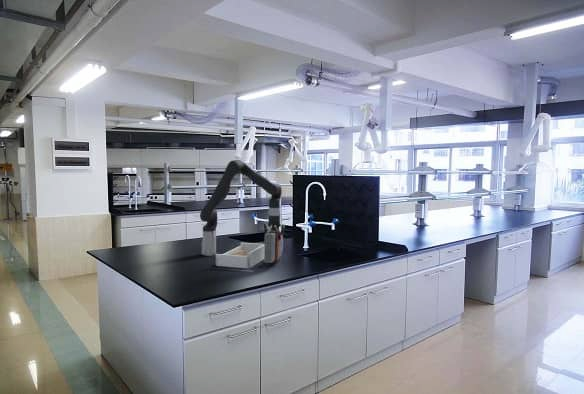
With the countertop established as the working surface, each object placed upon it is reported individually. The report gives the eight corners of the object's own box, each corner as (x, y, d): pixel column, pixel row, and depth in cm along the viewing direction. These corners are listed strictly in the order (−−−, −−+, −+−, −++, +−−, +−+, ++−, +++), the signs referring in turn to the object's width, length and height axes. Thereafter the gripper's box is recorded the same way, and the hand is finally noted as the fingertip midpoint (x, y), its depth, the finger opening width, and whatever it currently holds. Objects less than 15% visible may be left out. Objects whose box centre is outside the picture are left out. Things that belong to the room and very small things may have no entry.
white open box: (215, 267, 230) (215, 251, 229) (241, 253, 268) (241, 239, 268) (249, 269, 224) (249, 253, 223) (270, 255, 262) (270, 241, 262)
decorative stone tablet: (273, 233, 225) (284, 229, 254) (263, 232, 226) (275, 229, 255) (272, 264, 224) (283, 258, 254) (262, 264, 226) (274, 257, 255)
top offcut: (229, 257, 242) (229, 254, 242) (242, 253, 256) (242, 250, 256) (237, 258, 240) (237, 255, 240) (249, 253, 253) (249, 251, 253)
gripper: (261, 214, 237) (261, 240, 238) (283, 215, 233) (283, 241, 234) (265, 213, 244) (265, 238, 245) (286, 214, 240) (286, 239, 241)
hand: (274, 240), depth 240 cm, fingers closed on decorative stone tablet, 6 cm apart
